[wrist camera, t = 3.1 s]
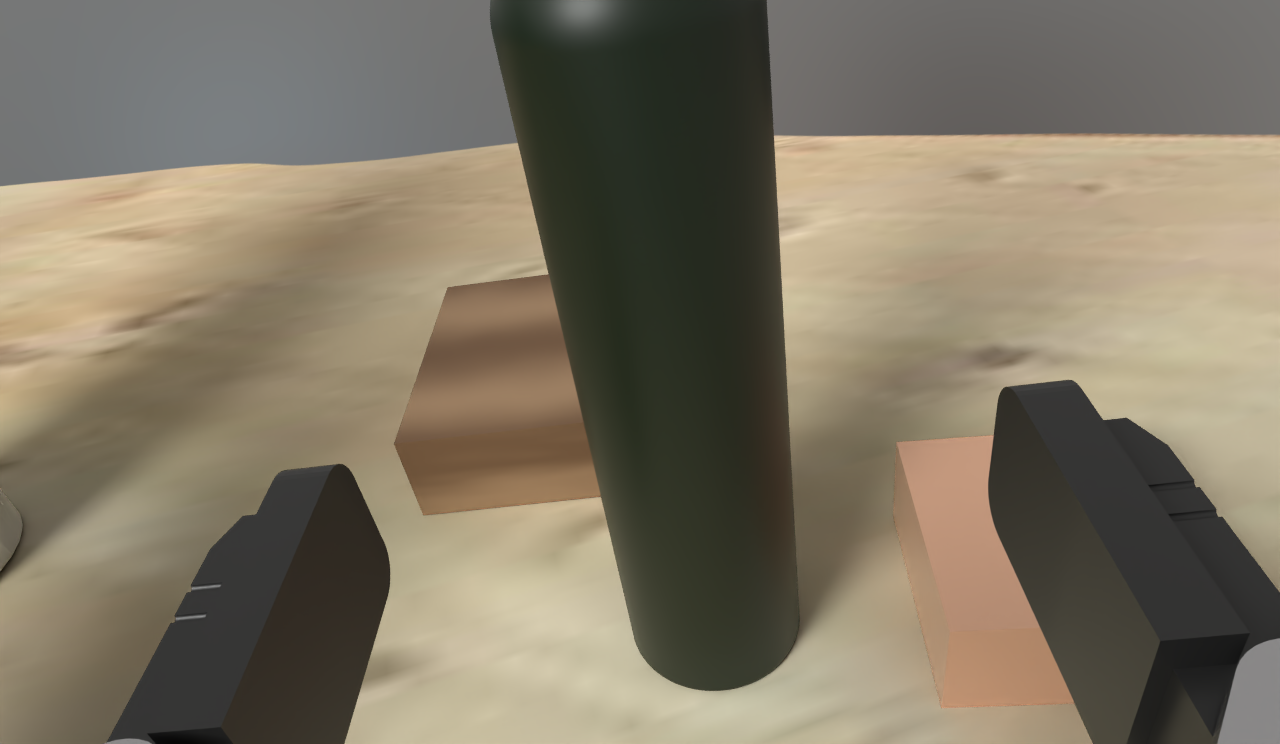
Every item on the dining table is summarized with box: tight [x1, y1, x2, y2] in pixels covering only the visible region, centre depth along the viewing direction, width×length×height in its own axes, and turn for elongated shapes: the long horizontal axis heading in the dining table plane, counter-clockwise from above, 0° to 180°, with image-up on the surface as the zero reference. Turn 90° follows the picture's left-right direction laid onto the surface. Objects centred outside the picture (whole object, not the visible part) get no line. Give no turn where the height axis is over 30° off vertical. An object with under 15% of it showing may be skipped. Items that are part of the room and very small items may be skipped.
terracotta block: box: [893, 435, 1074, 708], centre depth 28 cm, size 8×8×4 cm
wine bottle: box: [490, 0, 799, 691], centre depth 21 cm, size 6×6×30 cm
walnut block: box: [394, 275, 601, 515], centre depth 40 cm, size 12×12×4 cm
